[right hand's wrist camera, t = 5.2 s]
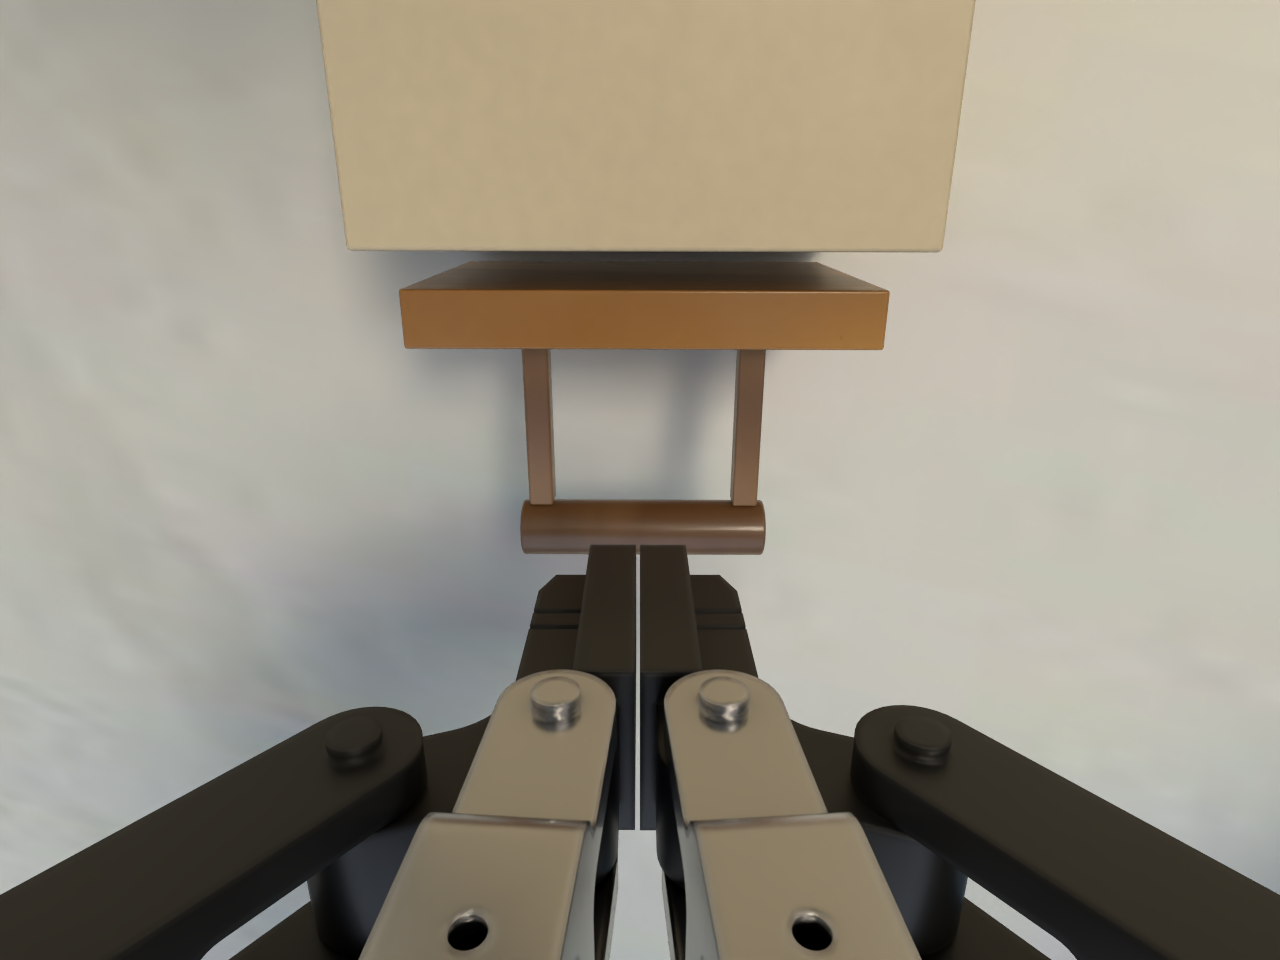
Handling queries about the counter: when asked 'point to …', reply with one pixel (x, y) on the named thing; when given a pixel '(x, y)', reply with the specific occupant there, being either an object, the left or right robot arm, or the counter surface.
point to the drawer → (643, 319)
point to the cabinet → (645, 123)
